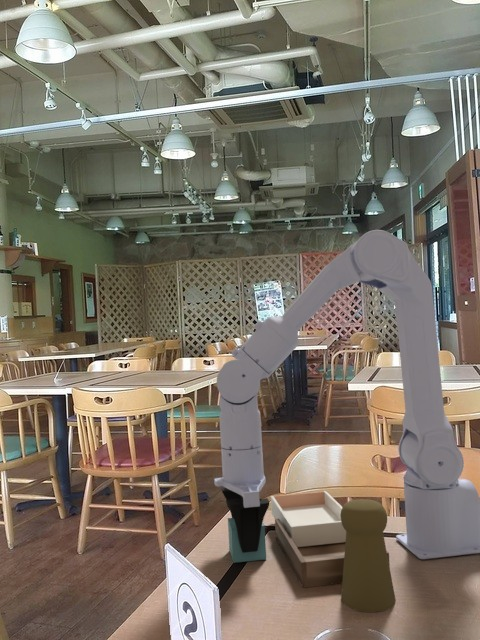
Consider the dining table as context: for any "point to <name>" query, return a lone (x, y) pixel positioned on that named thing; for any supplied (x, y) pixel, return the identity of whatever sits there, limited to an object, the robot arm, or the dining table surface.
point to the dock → (313, 559)
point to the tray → (310, 518)
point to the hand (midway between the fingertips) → (246, 544)
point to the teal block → (236, 549)
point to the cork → (366, 557)
